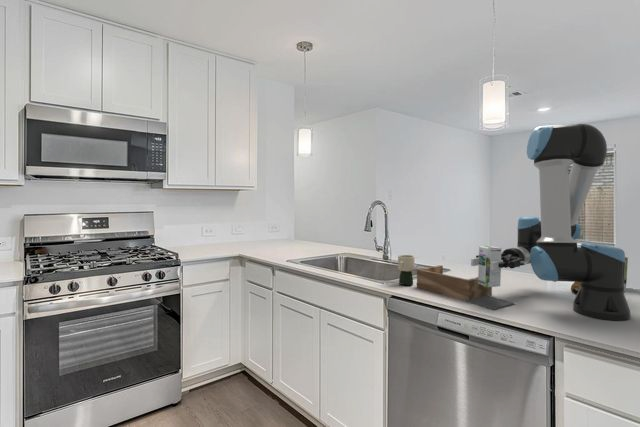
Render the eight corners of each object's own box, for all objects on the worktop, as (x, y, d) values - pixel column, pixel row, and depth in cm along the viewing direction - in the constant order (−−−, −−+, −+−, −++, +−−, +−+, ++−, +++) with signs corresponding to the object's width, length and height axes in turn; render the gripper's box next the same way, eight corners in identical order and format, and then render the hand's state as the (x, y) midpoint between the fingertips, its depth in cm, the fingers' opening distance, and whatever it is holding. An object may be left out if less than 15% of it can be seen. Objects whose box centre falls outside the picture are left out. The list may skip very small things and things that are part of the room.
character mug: (404, 281, 166) (404, 253, 166) (418, 283, 162) (418, 255, 161) (393, 285, 158) (393, 256, 158) (407, 288, 154) (407, 258, 153)
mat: (514, 304, 130) (514, 303, 130) (493, 310, 124) (493, 308, 124) (485, 296, 140) (485, 295, 140) (464, 301, 135) (464, 299, 135)
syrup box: (477, 283, 135) (477, 245, 134) (491, 282, 136) (491, 245, 135) (486, 287, 129) (487, 248, 128) (501, 286, 130) (502, 247, 129)
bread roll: (601, 307, 138) (612, 289, 137) (575, 294, 140) (585, 276, 138) (588, 299, 148) (598, 282, 147) (563, 288, 149) (573, 271, 148)
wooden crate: (439, 282, 163) (439, 265, 163) (491, 295, 143) (492, 275, 142) (416, 287, 155) (416, 269, 154) (468, 301, 134) (468, 280, 134)
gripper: (541, 271, 134) (509, 280, 121) (490, 262, 151) (457, 269, 138) (542, 251, 133) (509, 258, 121) (491, 244, 150) (457, 250, 137)
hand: (481, 264), depth 129 cm, fingers closed on syrup box, 7 cm apart
